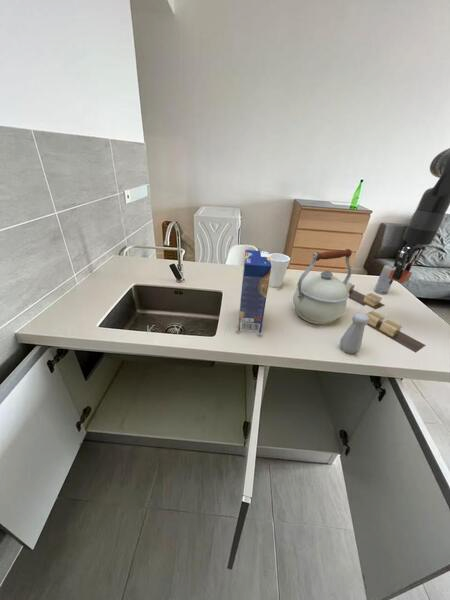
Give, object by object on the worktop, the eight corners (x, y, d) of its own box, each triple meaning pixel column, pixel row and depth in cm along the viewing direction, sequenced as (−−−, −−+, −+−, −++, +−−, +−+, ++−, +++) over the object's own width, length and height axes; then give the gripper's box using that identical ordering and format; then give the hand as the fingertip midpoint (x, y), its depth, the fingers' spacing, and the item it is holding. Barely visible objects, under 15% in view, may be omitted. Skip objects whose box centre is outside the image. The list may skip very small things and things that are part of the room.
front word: (366, 315, 92) (370, 307, 90) (424, 347, 78) (430, 337, 76) (355, 320, 89) (359, 312, 87) (414, 354, 75) (420, 345, 73)
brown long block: (341, 285, 113) (344, 278, 111) (384, 306, 99) (388, 298, 97) (332, 289, 109) (334, 281, 108) (375, 311, 95) (378, 303, 93)
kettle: (306, 334, 81) (327, 265, 68) (277, 305, 95) (289, 244, 82) (362, 320, 89) (389, 257, 76) (327, 296, 104) (345, 239, 91)
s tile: (394, 275, 85) (398, 267, 83) (408, 280, 82) (412, 272, 80) (388, 278, 83) (391, 270, 81) (402, 283, 80) (406, 275, 78)
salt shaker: (335, 342, 78) (347, 308, 71) (353, 343, 78) (367, 309, 71) (342, 355, 73) (356, 320, 66) (361, 356, 73) (377, 321, 66)
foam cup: (262, 279, 115) (266, 252, 108) (282, 279, 115) (287, 253, 108) (265, 288, 107) (270, 261, 100) (286, 289, 107) (292, 262, 100)
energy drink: (389, 292, 109) (400, 268, 103) (383, 295, 107) (394, 270, 100) (377, 287, 113) (387, 263, 107) (371, 290, 110) (381, 266, 104)
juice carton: (260, 333, 80) (271, 266, 68) (238, 331, 81) (244, 264, 68) (259, 312, 91) (268, 251, 78) (239, 311, 91) (245, 249, 78)
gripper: (427, 232, 67) (400, 286, 76) (447, 227, 74) (420, 277, 83) (398, 225, 72) (377, 277, 81) (419, 221, 79) (397, 269, 88)
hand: (399, 277), depth 82 cm, fingers closed on s tile, 4 cm apart
